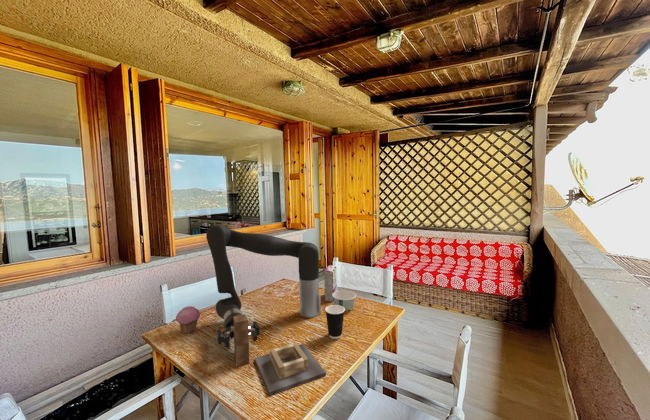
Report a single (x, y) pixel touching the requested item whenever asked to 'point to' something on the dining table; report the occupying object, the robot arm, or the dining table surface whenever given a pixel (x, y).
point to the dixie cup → (335, 320)
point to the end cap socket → (288, 367)
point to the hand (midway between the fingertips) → (242, 342)
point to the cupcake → (188, 319)
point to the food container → (344, 299)
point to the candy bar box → (330, 282)
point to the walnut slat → (241, 340)
